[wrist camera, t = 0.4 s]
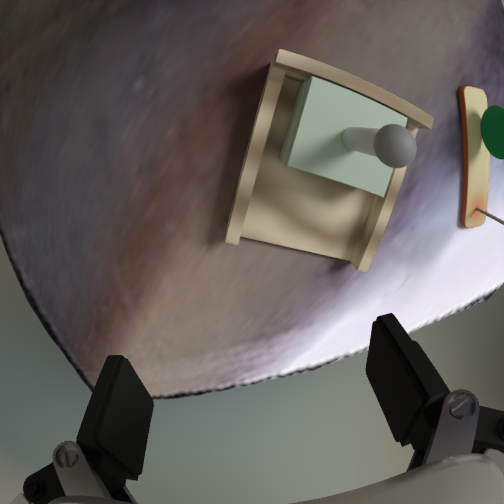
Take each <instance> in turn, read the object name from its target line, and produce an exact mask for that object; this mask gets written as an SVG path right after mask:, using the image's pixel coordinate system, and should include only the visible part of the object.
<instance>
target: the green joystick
mask: <svg viewBox="0 0 504 504" xmlns="http://www.w3.org/2000/svg"><path fill="white" fill-rule="evenodd" d="M407 119H408V118H407V117H405V116H403V115H401V114H399V113H397V112H395V111H393V110H391V109H389V108H387V107H385V106H383V105H381V104H379V103H377V102H375V101H373V100H371V99H368V98H366V97H364V96H362V95H359V94H357V93H355V92H352V91H350V90H348V89H345V88H343V87H340V86H338V85H335V84H333V83H330V82H327V81H325V80H322V79H319V78H316V77H314V76H311V77H309V79H308V80H306V81H305V82H303V83H301V84H300V86H299V89H298V93H297V96H296V100H295V103H294V107H293V110H292V114H291V117H290V121H289V124H288V128H287V131H286V135H285V138H284V142H283V145H282V149H281V152H280V156H279V160H280V161H282V162H283V163H284V165H285V166H287V167H291V168H294V169H298V170H301V171H305V172H308V173H311V174H315V175H318V176H321V177H324V178H327V179H331V180H334V181H337V182H340V183H343V184H346V185H349V186H352V187H355V188H358V189H361V190H363V191H366V192H369V193H372V194H375V195H377V196H380V197H384V195H385V192H386V189H387V186H388V183H389V180H390V177H391V174H392V171H393V168H403V167H405V166H407V165H409V164H410V163H411V162H412V161H413V159H414V157H415V155H416V150H417V146H416V141H415V139H414V137H413V135H412V134H411V132H410V131H409V130H408V129H406V128H405V127H406V123H407Z"/></svg>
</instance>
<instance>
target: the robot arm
mask: <svg viewBox="0 0 504 504" xmlns="http://www.w3.org/2000/svg"><path fill="white" fill-rule="evenodd" d="M366 375H367V377H368V379H369V382H370V384H371V386H372V388H373V390H374V393H375V395H376V397H377V399H378V402H379V404H380V406H381V408H382V411H383V413H384V415H385V417H386V420H387V422H388V425H389V427H390V429H391V432H392V434H393V436H394V439H395V440H396V442H399V441H400V443H401V445H402V447H403V446H405V445H408V444H410V443H411V445H412V447H413V449H414V450H415V451H414V454H413V456H412V459H411V461H410V464H409V466H408V469H407V471H406V472H405V473H402V474H400V475H397V476H394V477H391V478H389V479H386V480H383V481H380V482H377V483H374V484H371V485H368V486H364V487H361V488H358V489H355V490H351V491H347V492H344V493H340V494H336V495H332V496H328V497H324V498H319V499H314V500H309V501H303V502H298V503H291V504H504V411H500V410H496V409H491V408H487V407H483V406H479V401H478V399H477V397H476V396H475V394H473V393H472V392H470V391H468V390H465V389H458V390H454V391H453V392H450V390H449V389H448V387H447V386H446V384H445V383H444V381H443V379H442V378H441V376H440V375H439V373H438V372H437V370H436V369H435V367H434V366H433V364H432V363H431V362H430V360H429V358H428V357H427V355H426V354H425V352H424V351H423V350H422V348H421V347H420V345H419V344H418V343H417V342H416V341H412V340H411V338H410V337H409V336H408V334H407V332H406V331H405V330H404V328H403V327H402V325H401V324H400V323H399V321H398V320H397V318H396V317H395V316H394V314H392V313H389V314H385V315H382V316H378V317H377V319H376V321H374V322H373V324H372V331H371V338H370V345H369V351H368V357H367V363H366ZM153 407H154V403H153V399H152V397H151V396H150V394H149V393H148V391H147V390H146V388H145V387H144V385H143V383H142V382H141V380H140V379H139V377H138V375H137V374H136V372H135V370H134V369H133V367H132V365H131V364H130V362H129V360H128V359H127V358H124V356H122V355H109V356H108V357H107V358H106V361H105V363H104V365H103V368H102V370H101V373H100V375H99V378H98V380H97V383H96V385H95V388H94V390H93V393H92V396H91V399H90V401H89V404H88V406H87V409H86V412H85V415H84V418H83V421H82V423H81V426H80V429H79V432H78V435H77V438H76V439H77V441H76V443H75V442H73V441H64V442H61V443H60V444H59V445H57V447H56V448H55V449H54V452H53V457H52V459H53V462H52V463H51V464H49V465H47V466H46V467H44V468H42V469H41V470H39V471H37V472H35V473H34V474H32V475H30V476H29V477H28V478H27V479H26V480H25V482H24V485H23V491H24V494H23V493H20V494H19V495H18V496H17V497H16V498H15V499H14V500H13V501H12V503H11V504H138V503H137V501H136V500H135V499H134V497H133V496H132V494H131V493H130V491H129V490H128V488H127V487H126V485H125V483H126V479H129V480H137V481H138V475H140V474H141V473H142V469H143V463H144V457H145V451H146V445H147V439H148V433H149V428H150V422H151V417H152V412H153Z"/></svg>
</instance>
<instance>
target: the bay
mask: <svg viewBox="0 0 504 504" xmlns="http://www.w3.org/2000/svg"><path fill="white" fill-rule="evenodd" d="M311 76H314V77H316V78H319V79H322V80H325V81H327V82H330V83H333V84H335V85H338V86H340V87H343V88H345V89H348V90H350V91H352V92H355V93H357V94H359V95H362V96H364V97H366V98H368V99H371V100H373V101H375V102H377V103H379V104H381V105H383V106H385V107H387V108H389V109H391V110H393V111H395V112H397V113H399V114H401V115H403V116H405V117H407V118H408V119H407V123H406V127H405V128H406V129H408V130H409V131H410V132H411V134H412V135H413V137H414V139H415V137H416V134H417V130H418V128H425V129H432V125H433V121H434V118H433V117H432V116H430V115H429V114H427V113H425V112H424V111H422V110H420V109H419V108H417V107H415V106H414V105H412V104H410V103H408V102H407V101H405V100H403V99H401V98H399V97H397V96H396V95H394V94H392V93H390V92H388V91H386V90H384V89H382V88H380V87H378V86H376V85H374V84H372V83H370V82H367V81H365V80H363V79H361V78H359V77H356V76H354V75H352V74H349V73H347V72H345V71H342V70H340V69H337V68H335V67H332V66H330V65H327V64H324V63H322V62H319V61H316V60H313V59H310V58H307V57H304V56H301V55H298V54H295V53H292V52H289V51H285V50H282V49H279V51H278V52H277V54H276V55H275V57H274V59H273V60H272V62H271V64H270V67H269V71H268V74H267V78H266V81H265V85H264V88H263V92H262V95H261V99H260V102H259V106H258V109H257V113H256V116H255V120H254V124H253V127H252V131H251V135H250V138H249V142H248V146H247V149H246V153H245V157H244V161H243V165H242V168H241V172H240V176H239V180H238V184H237V188H236V192H235V196H234V200H233V204H232V208H231V212H230V216H229V220H228V224H227V228H226V238H225V242H227V243H232V244H236V245H238V243H239V240H240V236H241V237H245V238H250V239H254V240H259V241H264V242H268V243H273V244H277V245H282V246H286V247H291V248H295V249H300V250H304V251H308V252H313V253H317V254H322V255H326V256H331V257H335V258H339V259H344V260H348V261H350V262H351V263H352V264H353V266H354V267H355V268H356V270H357V271H362V272H366V273H367V270H368V268H369V266H370V264H371V261H372V259H373V257H374V254H375V252H376V250H377V247H378V245H379V242H380V240H381V237H382V235H383V232H384V230H385V227H386V225H387V222H388V220H389V217H390V214H391V212H392V209H393V206H394V203H395V201H396V198H397V195H398V192H399V189H400V186H401V183H402V180H403V177H404V174H405V171H406V168H407V166H405V167H403V168H393V171H392V174H391V177H390V180H389V183H388V186H387V189H386V192H385V195H384V197H380V196H377V195H375V194H372V193H369V192H366V191H363V190H361V189H358V188H355V187H352V186H349V185H346V184H343V183H340V182H337V181H334V180H331V179H327V178H324V177H321V176H318V175H315V174H311V173H308V172H305V171H301V170H298V169H294V168H291V167H287V166H285V165H284V163H283V162H282V161H280V160H279V156H280V152H281V149H282V145H283V142H284V138H285V135H286V131H287V128H288V124H289V121H290V117H291V114H292V110H293V107H294V103H295V100H296V96H297V93H298V89H299V86H300V84H301V83H303V82H305V81H306V80H308V79H309V77H311Z"/></svg>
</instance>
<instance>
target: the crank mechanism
mask: <svg viewBox="0 0 504 504" xmlns="http://www.w3.org/2000/svg"><path fill="white" fill-rule="evenodd" d="M459 99H460V108H461V119H462V134H463V192H462V207H461V219H460V221H461V224H462V225H463V226H464V227H466V228H473V227H477V226H481V225H482V224H483V223H484V222H485V220H486V215H487V216H488V217H490V218H492V219H494V220H496V221H498V222H499V223H501V224H503V225H504V221H502V220H501V219H499V218H497V217H495V216H493V215H491V214H489V213H487V204H488V191H489V172H490V154H492V155H493V156H494V157H496V158H498V159H504V108H503V107H501V106H497V105H493V106H490V107H488V108H487V98H486V95H485V93H484V91H483V90H482V89H479V88H475V87H471V86H461V87H460V89H459Z"/></svg>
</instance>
